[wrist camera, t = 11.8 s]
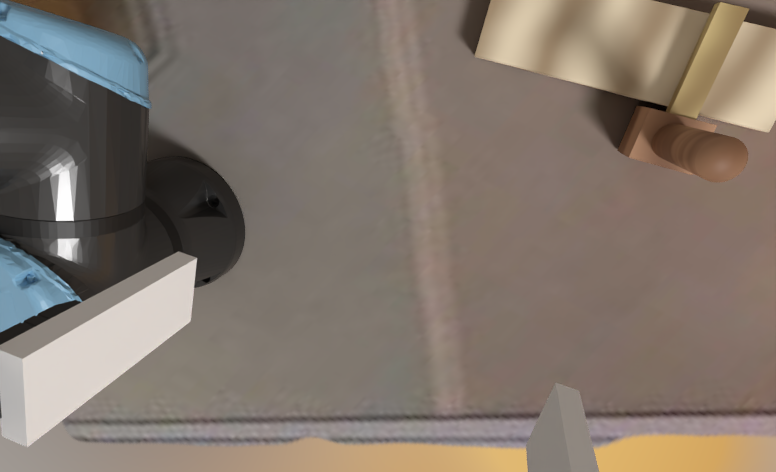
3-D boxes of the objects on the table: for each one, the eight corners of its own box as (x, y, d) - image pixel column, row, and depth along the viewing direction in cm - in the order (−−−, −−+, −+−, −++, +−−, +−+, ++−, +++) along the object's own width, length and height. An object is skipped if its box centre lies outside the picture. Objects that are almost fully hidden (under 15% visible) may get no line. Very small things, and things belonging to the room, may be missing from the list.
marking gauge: (617, 150, 41) (664, 178, 29) (680, 5, 37) (765, -32, 25) (674, 166, 41) (747, 202, 29) (745, 20, 36) (865, -10, 24)
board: (475, 57, 42) (474, 55, 40) (501, -30, 39) (501, -35, 37) (755, 130, 38) (768, 132, 37) (803, 41, 36) (819, 39, 34)
